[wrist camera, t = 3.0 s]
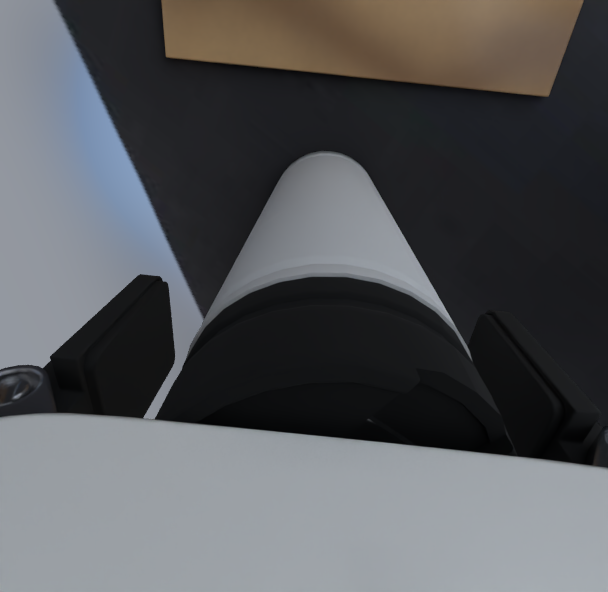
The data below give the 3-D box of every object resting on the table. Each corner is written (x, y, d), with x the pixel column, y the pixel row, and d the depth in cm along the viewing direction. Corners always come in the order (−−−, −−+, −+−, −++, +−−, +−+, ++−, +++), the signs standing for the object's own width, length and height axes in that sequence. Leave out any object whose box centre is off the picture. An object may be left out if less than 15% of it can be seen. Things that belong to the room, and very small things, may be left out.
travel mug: (251, 215, 23) (23, 588, 6) (318, 126, 20) (283, 302, 3) (326, 272, 25) (333, 697, 7) (396, 196, 22) (678, 581, 5)
